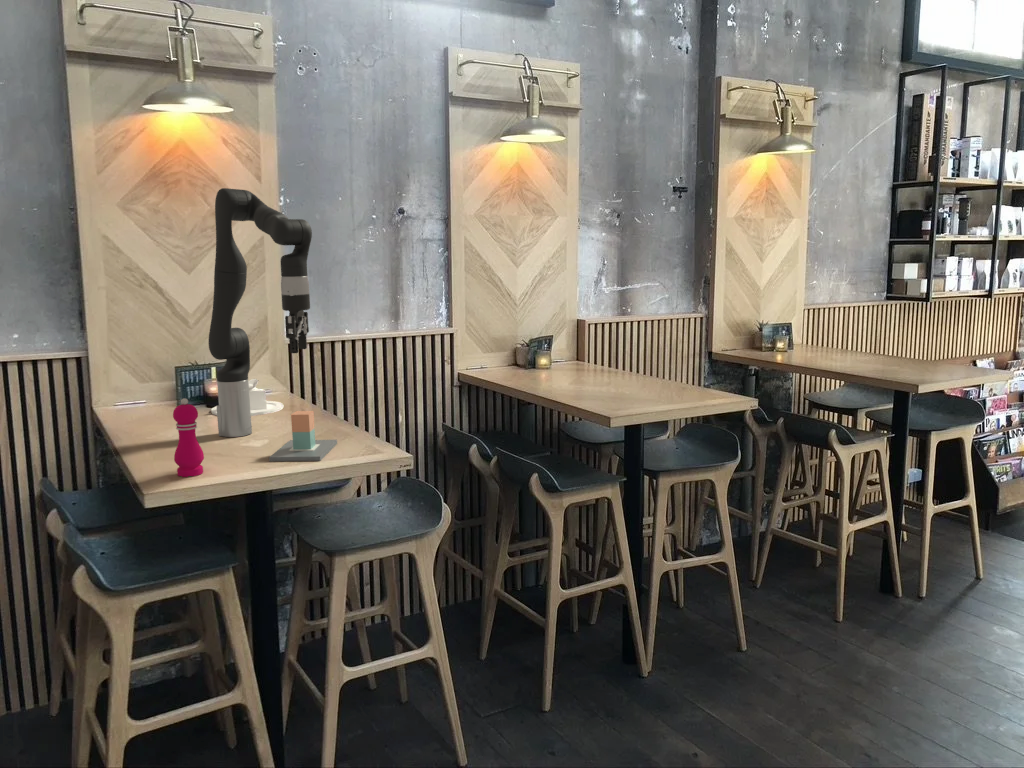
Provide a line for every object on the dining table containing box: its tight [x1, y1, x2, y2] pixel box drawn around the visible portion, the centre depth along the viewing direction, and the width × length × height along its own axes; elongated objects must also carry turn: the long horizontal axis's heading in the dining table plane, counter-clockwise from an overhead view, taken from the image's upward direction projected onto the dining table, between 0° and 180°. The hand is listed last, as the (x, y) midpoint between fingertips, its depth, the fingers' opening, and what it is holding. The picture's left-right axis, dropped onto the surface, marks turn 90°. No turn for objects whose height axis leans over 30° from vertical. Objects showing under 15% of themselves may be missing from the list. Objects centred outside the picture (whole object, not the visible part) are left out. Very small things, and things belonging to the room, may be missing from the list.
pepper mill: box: [172, 397, 205, 478], centre depth 219 cm, size 7×7×20 cm
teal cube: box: [291, 427, 316, 449], centre depth 241 cm, size 5×5×5 cm
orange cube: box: [290, 410, 315, 433], centre depth 240 cm, size 5×5×5 cm
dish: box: [210, 378, 285, 417], centre depth 305 cm, size 25×25×11 cm
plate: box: [268, 439, 338, 462], centre depth 241 cm, size 14×20×1 cm
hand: (298, 351), depth 237 cm, fingers open, 8 cm apart
